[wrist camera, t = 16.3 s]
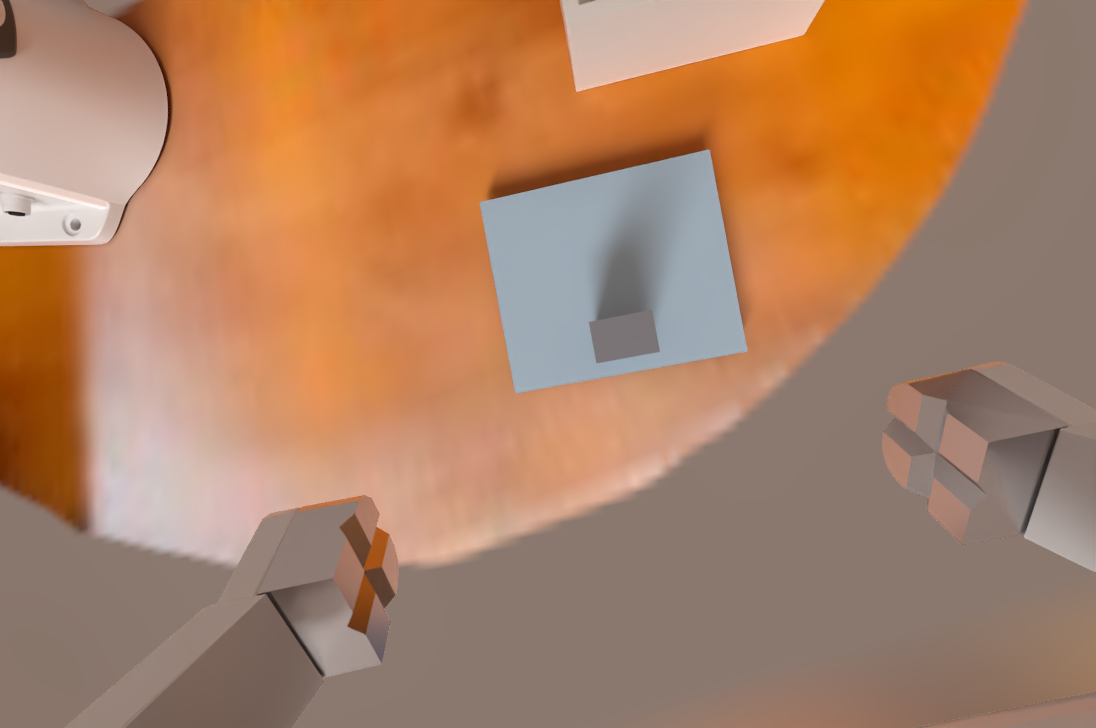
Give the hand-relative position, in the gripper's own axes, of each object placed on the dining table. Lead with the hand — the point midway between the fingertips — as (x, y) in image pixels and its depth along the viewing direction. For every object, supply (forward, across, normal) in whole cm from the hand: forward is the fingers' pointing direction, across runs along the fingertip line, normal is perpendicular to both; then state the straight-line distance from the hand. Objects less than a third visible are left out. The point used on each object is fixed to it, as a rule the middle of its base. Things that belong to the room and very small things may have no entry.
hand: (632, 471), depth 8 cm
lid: (+25, -4, +6) cm, 26 cm away
